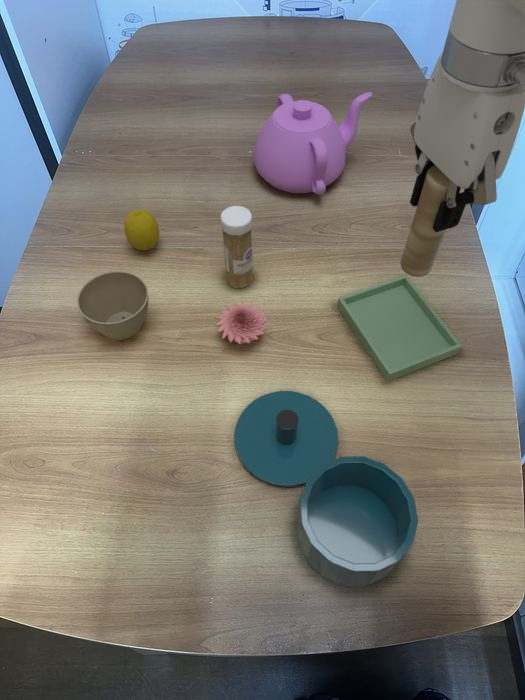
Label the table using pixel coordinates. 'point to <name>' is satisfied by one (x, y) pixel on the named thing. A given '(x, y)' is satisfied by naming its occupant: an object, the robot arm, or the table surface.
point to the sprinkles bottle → (237, 245)
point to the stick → (425, 226)
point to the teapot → (304, 145)
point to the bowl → (114, 303)
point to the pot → (355, 520)
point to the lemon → (141, 229)
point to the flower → (242, 323)
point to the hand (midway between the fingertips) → (433, 213)
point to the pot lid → (285, 437)
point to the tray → (398, 327)
